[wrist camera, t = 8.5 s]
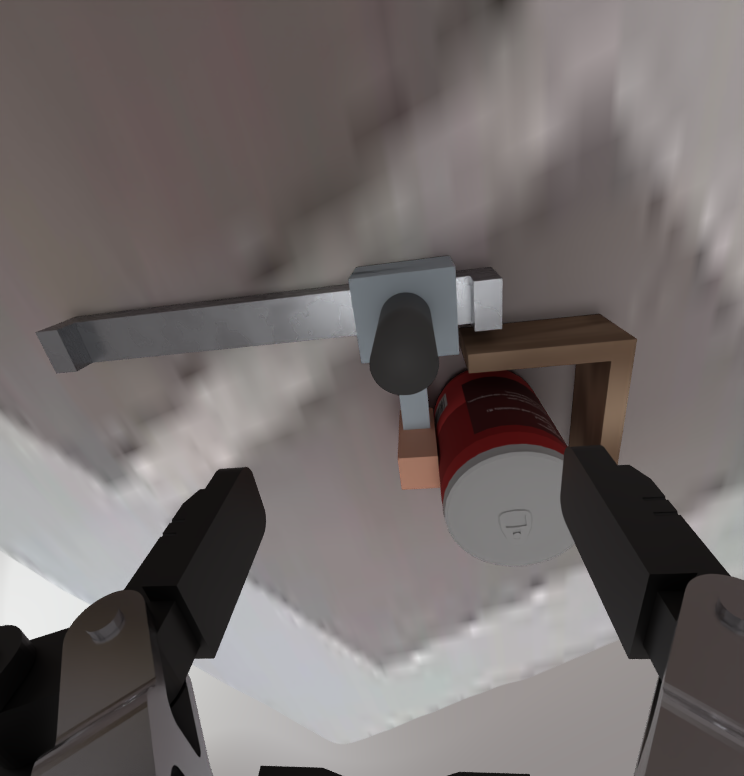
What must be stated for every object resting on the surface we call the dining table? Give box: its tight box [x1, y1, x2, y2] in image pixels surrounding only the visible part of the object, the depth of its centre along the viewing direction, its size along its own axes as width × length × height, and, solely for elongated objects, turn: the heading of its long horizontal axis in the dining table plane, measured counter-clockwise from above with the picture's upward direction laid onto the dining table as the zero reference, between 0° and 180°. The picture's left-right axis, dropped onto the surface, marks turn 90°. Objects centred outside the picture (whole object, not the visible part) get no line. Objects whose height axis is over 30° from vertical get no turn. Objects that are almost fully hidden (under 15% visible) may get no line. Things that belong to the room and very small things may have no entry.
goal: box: [459, 314, 637, 465], centre depth 29 cm, size 15×9×5 cm, turn 8°
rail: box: [35, 267, 502, 373], centre depth 27 cm, size 3×30×4 cm, turn 97°
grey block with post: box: [348, 256, 459, 490], centre depth 24 cm, size 13×6×11 cm, turn 8°
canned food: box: [434, 370, 575, 566], centre depth 26 cm, size 8×8×11 cm
